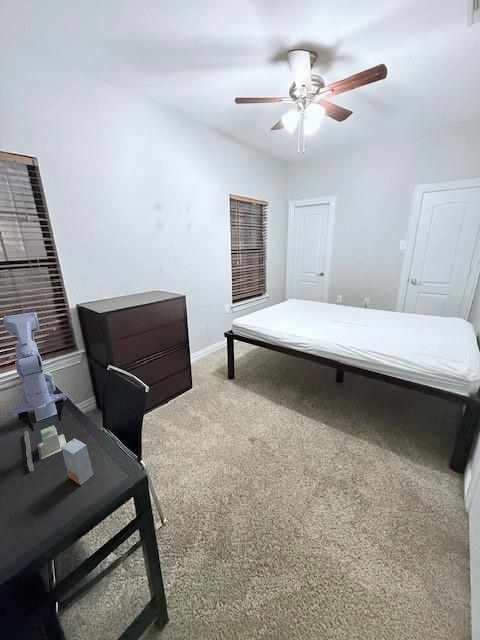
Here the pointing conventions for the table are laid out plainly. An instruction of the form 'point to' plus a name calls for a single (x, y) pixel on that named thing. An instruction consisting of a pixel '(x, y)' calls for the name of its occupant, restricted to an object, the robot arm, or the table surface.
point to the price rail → (28, 451)
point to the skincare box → (77, 461)
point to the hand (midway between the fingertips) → (46, 424)
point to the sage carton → (50, 439)
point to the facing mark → (43, 453)
